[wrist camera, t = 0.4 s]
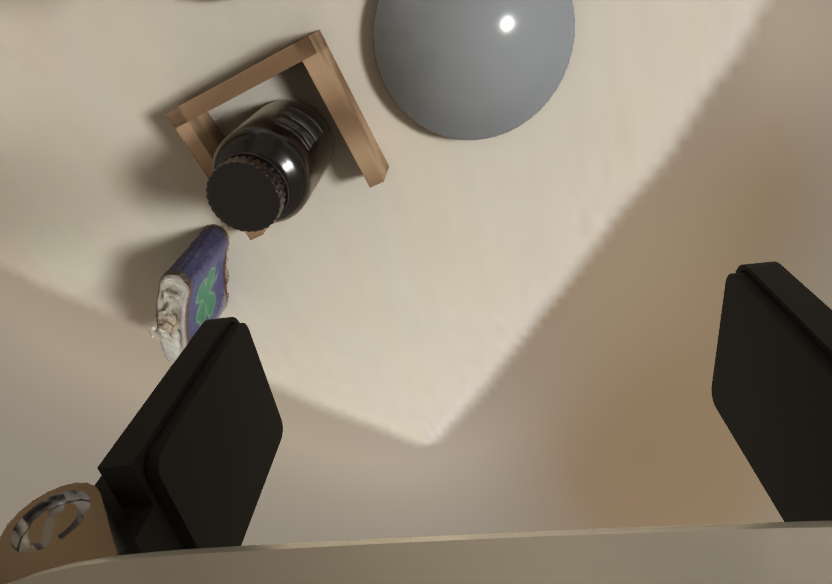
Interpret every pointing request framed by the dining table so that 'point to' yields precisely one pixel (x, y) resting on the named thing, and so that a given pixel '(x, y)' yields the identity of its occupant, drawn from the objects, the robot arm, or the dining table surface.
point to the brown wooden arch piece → (310, 50)
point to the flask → (192, 291)
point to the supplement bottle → (269, 166)
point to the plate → (472, 61)
